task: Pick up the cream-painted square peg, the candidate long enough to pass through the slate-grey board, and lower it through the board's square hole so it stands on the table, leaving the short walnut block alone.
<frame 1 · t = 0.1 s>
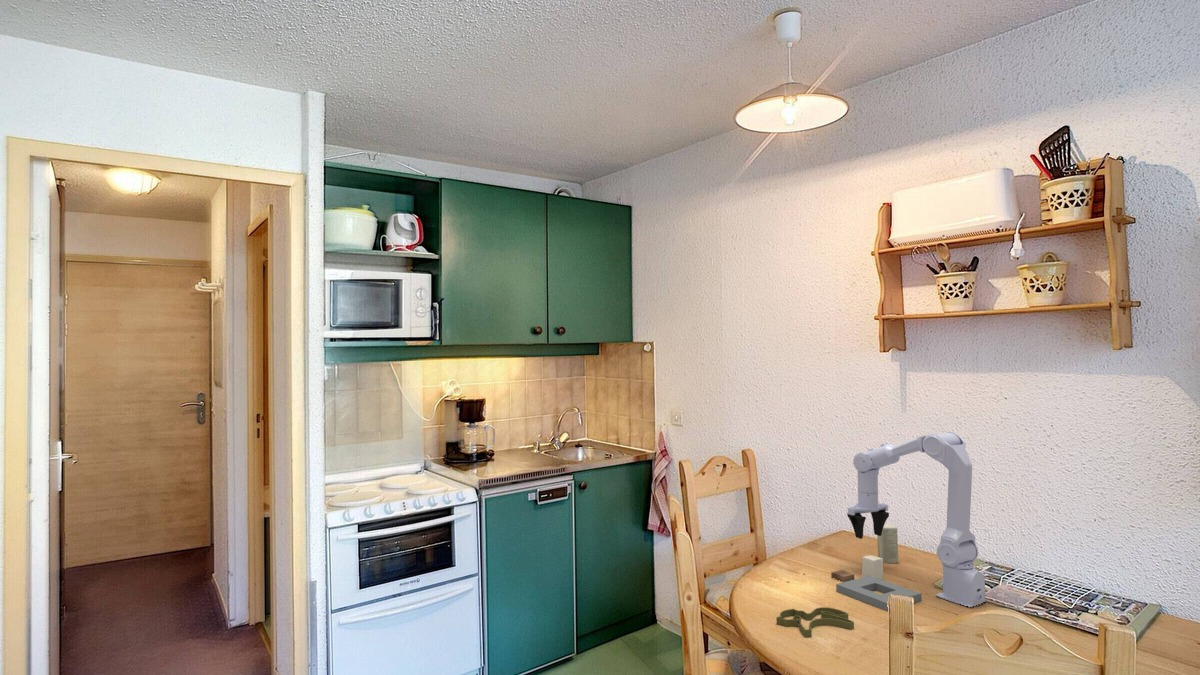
hand: (868, 536, 196), 10 cm above the table, tool pointing down, fingers open, 7 cm apart
box: (887, 561, 204), on the table
board: (878, 596, 174), on the table
cookie cutter: (814, 626, 156), on the table
short block: (842, 580, 187), on the table
peg: (872, 578, 188), on the table
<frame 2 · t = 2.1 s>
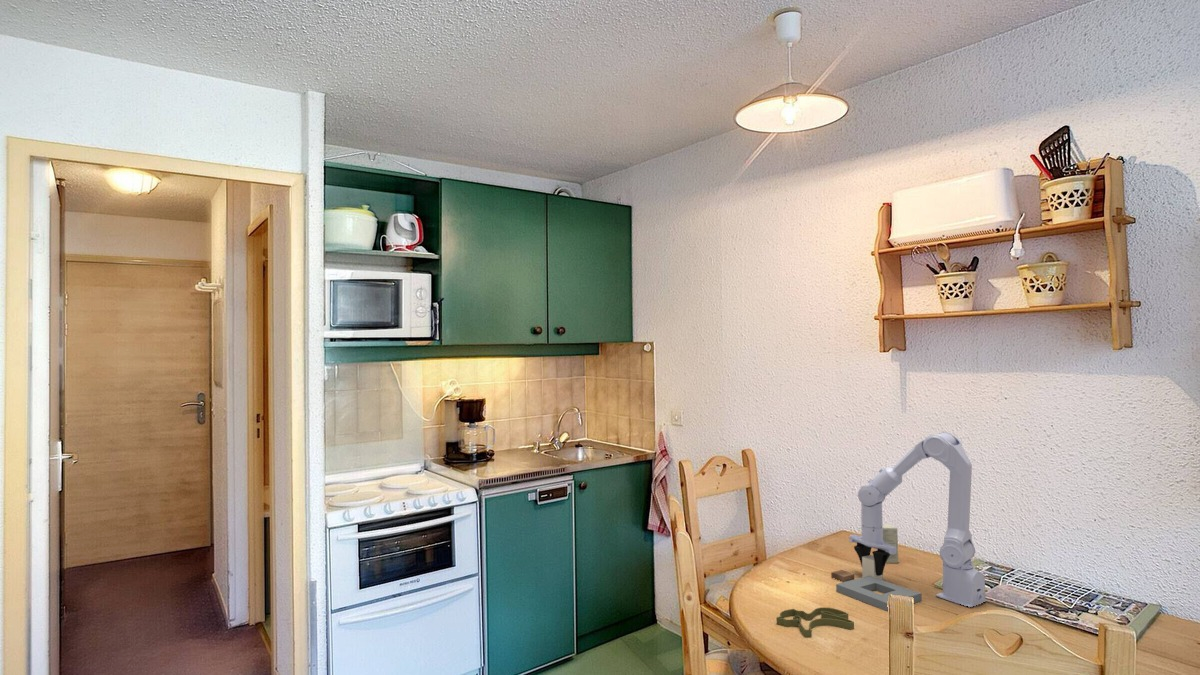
hand: (872, 572, 188), 2 cm above the table, tool pointing down, fingers closed on peg, 4 cm apart
peg: (872, 578, 188), on the table, touching gripper
everything else where it was.
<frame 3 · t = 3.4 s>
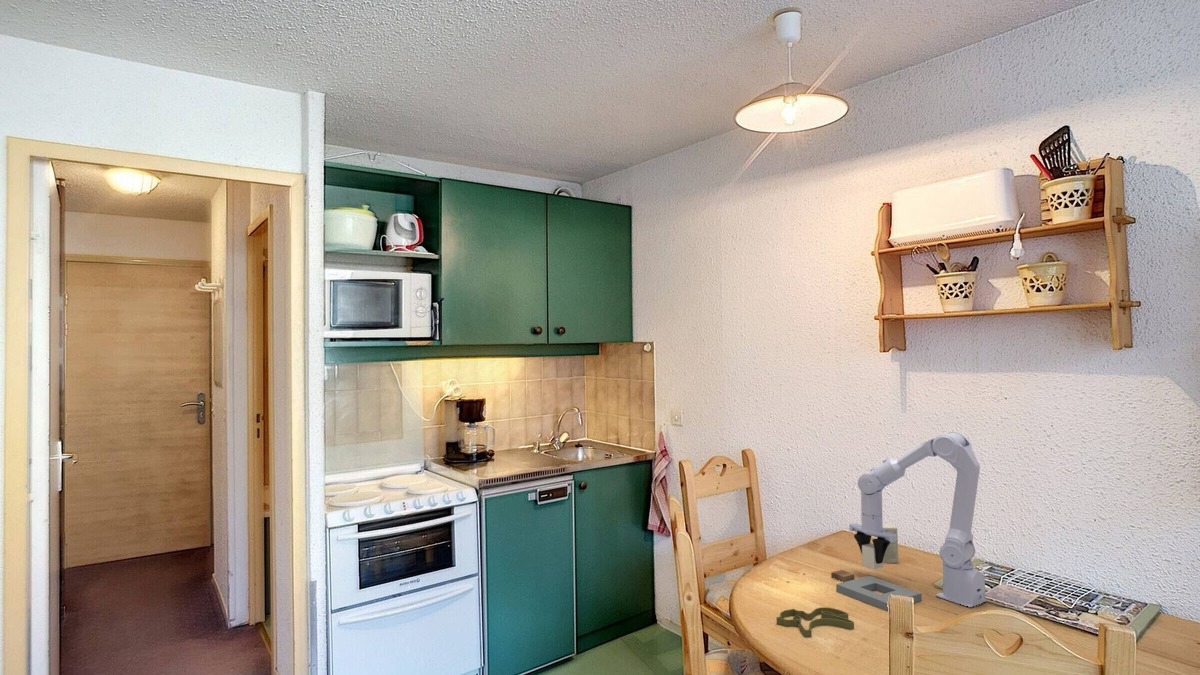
hand: (872, 560, 188), 5 cm above the table, tool pointing down, fingers closed on peg, 4 cm apart
peg: (872, 566, 188), point 3 cm above the table, touching gripper
everything else where it was.
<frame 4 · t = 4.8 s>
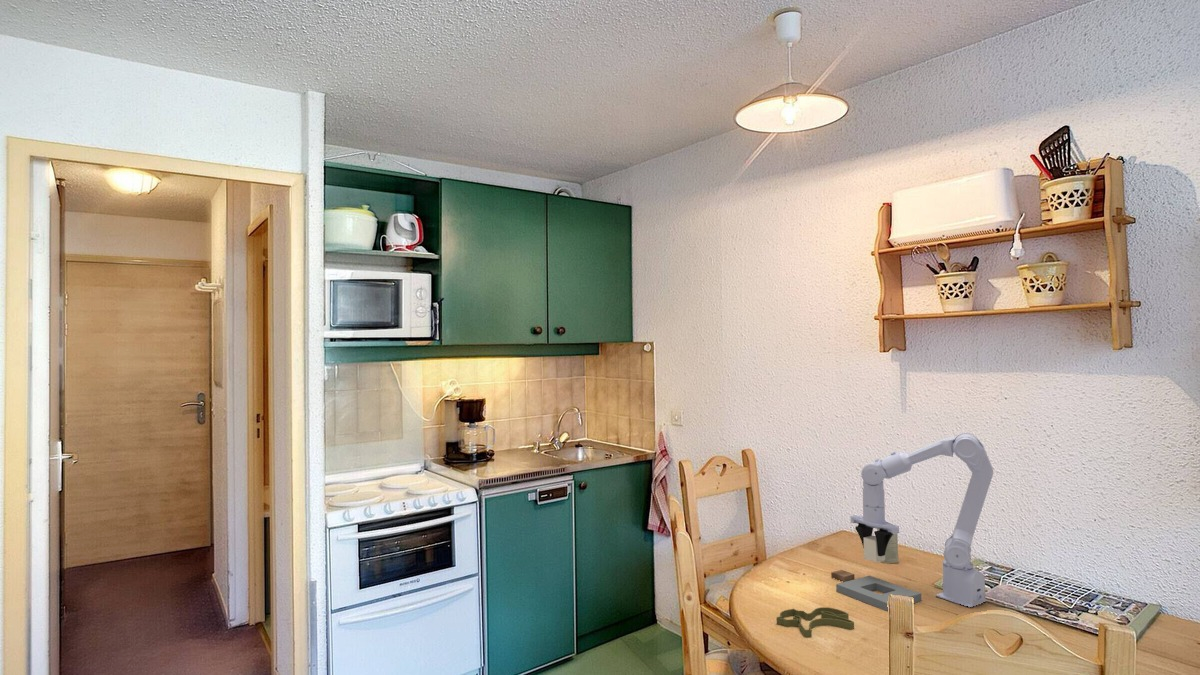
hand: (874, 553, 182), 9 cm above the table, tool pointing down, fingers closed on peg, 4 cm apart
peg: (874, 559, 182), point 7 cm above the table, touching gripper
everything else where it was.
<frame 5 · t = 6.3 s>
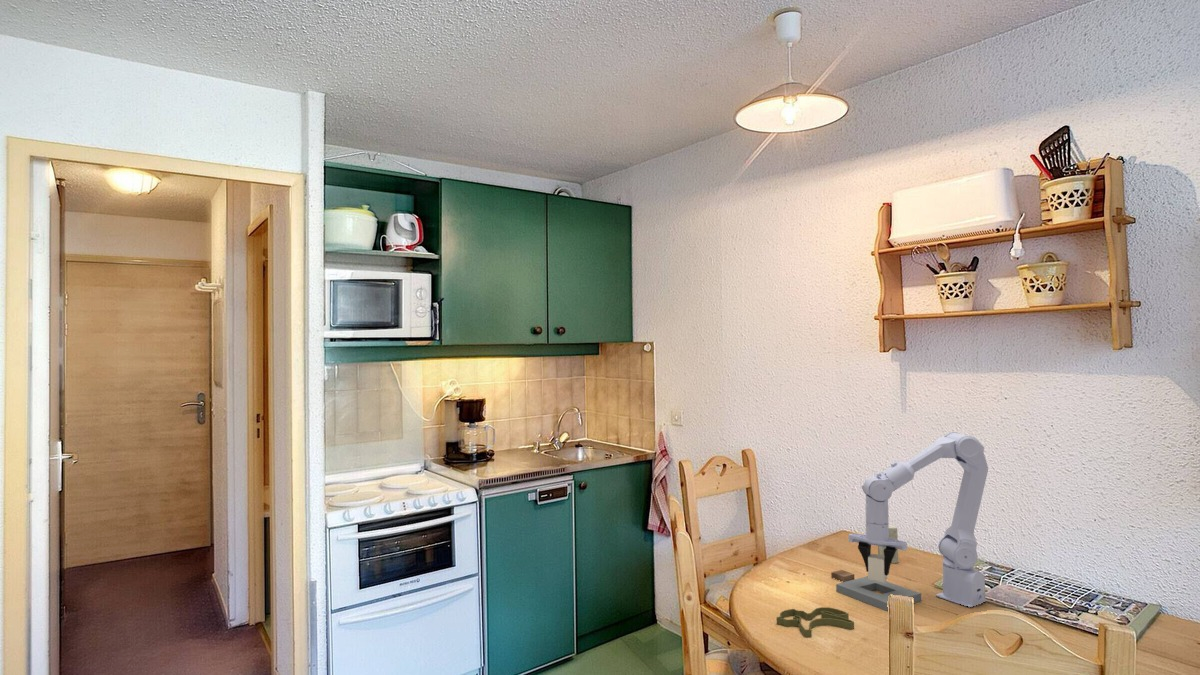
hand: (877, 572, 174), 6 cm above the table, tool pointing down, fingers closed on peg, 4 cm apart
peg: (877, 578, 174), point 5 cm above the table, touching gripper
everything else where it was.
when the fingers open (3 cm above the table, at t = 7.3 s): peg drops 2 cm, resting in board.
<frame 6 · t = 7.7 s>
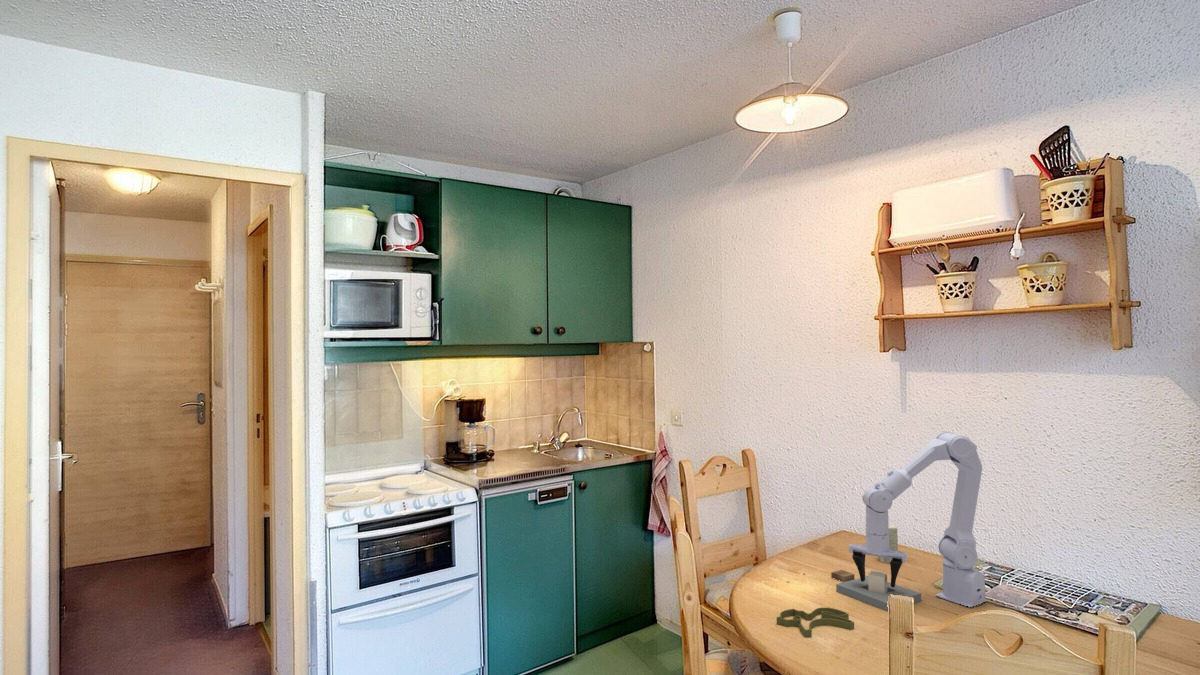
hand: (877, 583, 174), 3 cm above the table, tool pointing down, fingers open, 7 cm apart
peg: (878, 596, 174), resting in board
everything else where it was.
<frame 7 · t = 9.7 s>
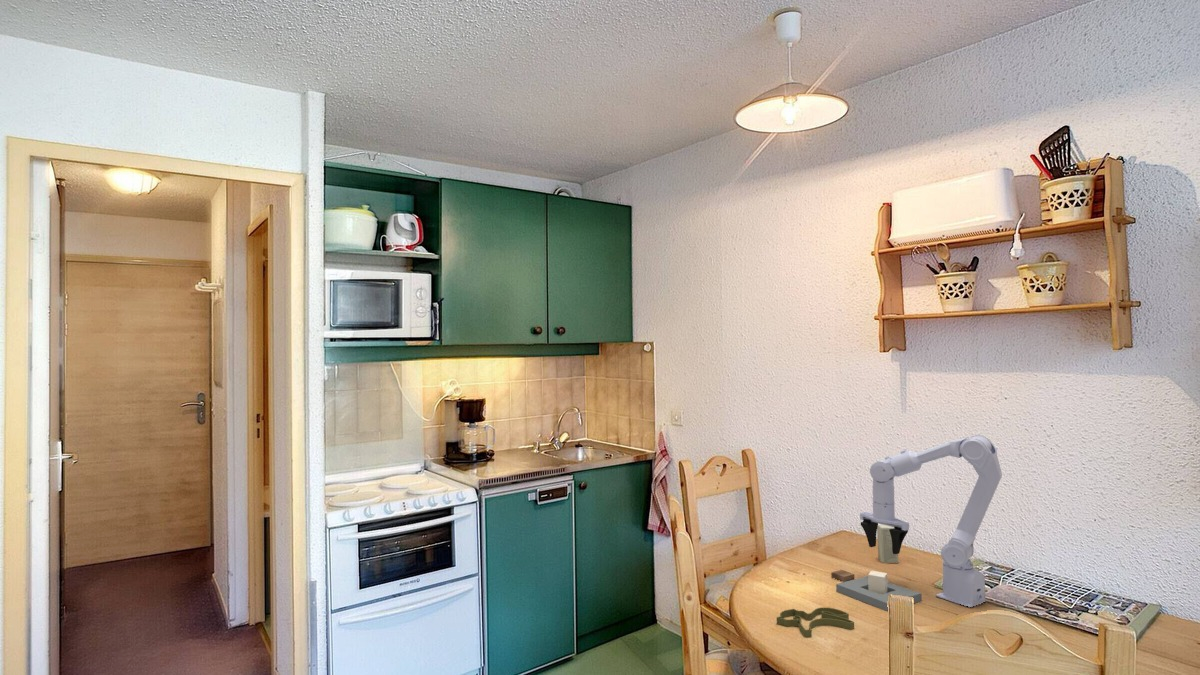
hand: (884, 550, 184), 9 cm above the table, tool pointing down, fingers open, 7 cm apart
nothing on the table moved.
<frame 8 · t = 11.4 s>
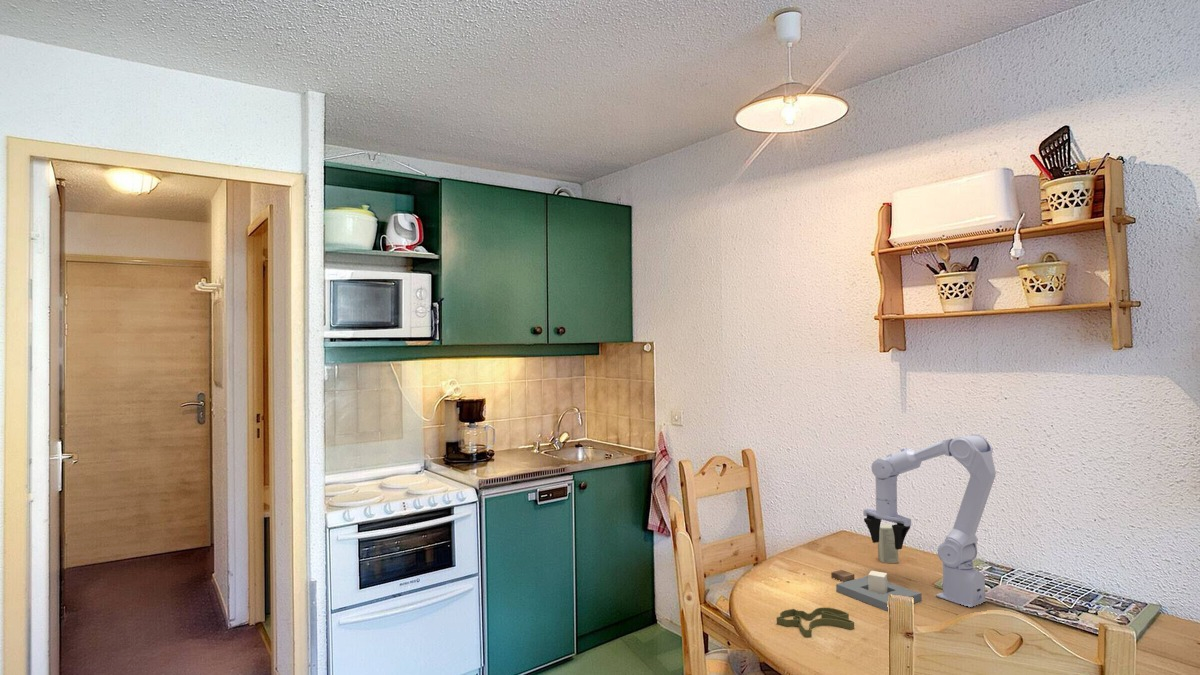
hand: (887, 545, 188), 9 cm above the table, tool pointing down, fingers open, 7 cm apart
nothing on the table moved.
at the end: peg 0.0 cm off-centre on the board, point 0.0 cm above the board's base; peg tilted 0°; short block moved 0.4 cm from its start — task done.
